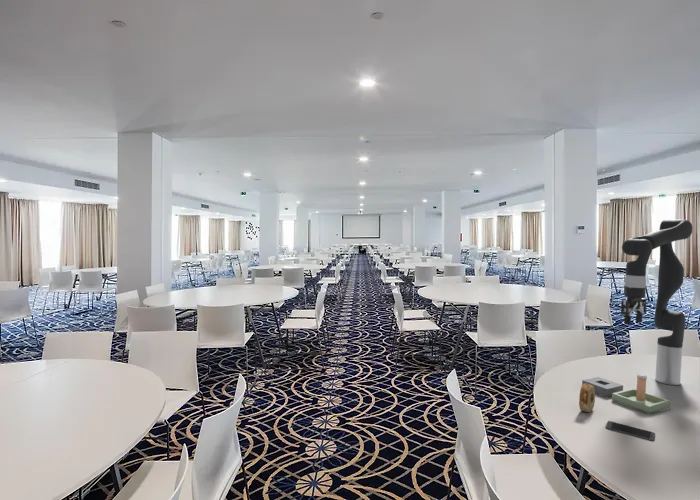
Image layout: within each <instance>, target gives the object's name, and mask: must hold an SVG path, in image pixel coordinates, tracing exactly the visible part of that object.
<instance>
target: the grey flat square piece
mask: <svg viewBox="0 0 700 500" xmlns="http://www.w3.org/2000/svg"><path fill="white" fill-rule="evenodd" d="M583 384H590V385H592V386H594V391H595V394H597V395H599V394H600V395H599V396H602V397H605V398H609V397H612V393H616V392H620V391H624V385H623V384H620V383H618V382H614V381H612V380H608V379H606V378H602V377H600V376H596V377H595V376H594V377H591V378H587V379H582V383H581V386H582V385H583Z"/></svg>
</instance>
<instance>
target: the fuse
mask: <svg viewBox="0 0 700 500" xmlns="http://www.w3.org/2000/svg"><path fill="white" fill-rule="evenodd" d="M636 377H637V378H636V390H637V391H636V401H638V402H641V403H644V404H645V395H646V393H647V391H646V390H647V389H646V388H647V379H648V378H647V377H648V376H647V375H646V374H641V373H637V374H636Z"/></svg>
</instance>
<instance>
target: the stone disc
mask: <svg viewBox="0 0 700 500" xmlns="http://www.w3.org/2000/svg"><path fill="white" fill-rule="evenodd" d="M595 394H596V393H595V391H594V386H592V385H590V384H583V385H582V384H581V386H580V390H579V399H578V406H579V410H580V411H582V412H586V413H591V411H592V410H593V409H594V406H595V401H596V395H595Z"/></svg>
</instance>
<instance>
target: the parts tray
mask: <svg viewBox="0 0 700 500" xmlns="http://www.w3.org/2000/svg"><path fill="white" fill-rule="evenodd" d="M636 391H637V388H636V389H635V388H628V389H623V391H620V392H616V393H612V396H611V401H612V402H615V403H617V404H619V405H623V406H625V407H628V408H631V409H633V410H636V411H639V412H641V413H644V414H646V415H652V414H655V413H658V412H661V411H665V410H668V409H670V407H671V400H669V399H666V398H662V397H660V396H658V395H654V394H651V393H649V392H646V395H645V404H644V403H641V402H638V401H636Z"/></svg>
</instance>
